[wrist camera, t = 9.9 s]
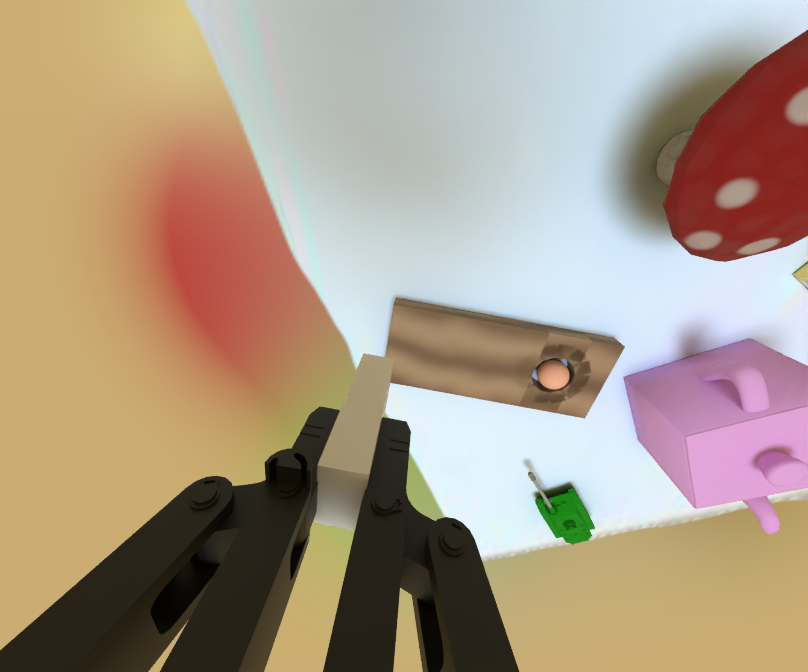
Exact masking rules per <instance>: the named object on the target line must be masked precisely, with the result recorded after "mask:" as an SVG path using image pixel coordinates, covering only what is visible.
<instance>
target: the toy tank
mask: <svg viewBox="0 0 808 672" xmlns="http://www.w3.org/2000/svg"><path fill="white" fill-rule="evenodd" d="M528 476H529V477H530V479H531V480H532V481H533V482H534V484H535V485H536V487H537V489H538V490H539V492H540V494H541V495H542V497H543V498H542V497H541V498H538V499H536V500H535V502H536V505H537V507H538V509H539V511H540V513H541V515H542V516H543V518H544V520H545V521H546V523H547V524H548V526H549V527H550V529H551V531H552V532H553V534H554V535H555V537H556V538H560V537H563V538H564V540H565V542H567V543H572V545H573V544H575V543H579V542H583V541H588V539H589V538H590V537H591V536H592V534H591V532H590V530H591V529H595V527H594V524H593V522H592V520H591V518H590V516H589V514H588V512H587V511H586V509H585V507H584V505H583V503H582V502H581V500H580V498H579V496H578V494H577V493H576V491H575V489H574V488H571V489H568V493H564V494H560V495H557V496H553V497H551V498H547V497H546V496H545V494H544V492H543V491H542V489H541V488H540V486H539V485H538V483H537V481H536V478H535V476H534V475H533V473H532V472H529V473H528Z"/></svg>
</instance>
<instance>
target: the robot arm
mask: <svg viewBox="0 0 808 672" xmlns="http://www.w3.org/2000/svg"><path fill="white" fill-rule="evenodd" d="M393 363H394V359H391V358H385V357H380V356H374V355H369V354H363V356H362V358H361V361H360V363H359V366H358V368H357V371H356V373H355V376H354V378H353V380H352V383H351V385H350V388H349V390H348V392H347V395H346V397H345V400H344V402H343V405H342V407H341V410H335V409H331V408H325V407H319V408H317V409H316V410H315V411H314V412H312V413H311V414H310V415H309V417H308V419H307V421H306V423H305V425H304V427H303V428H302V430H301V432H300V435H299V436H298V438H297V440H296V442H295V443H294V445H293V447H292V449H285V450H281V451H278V452H276V453H275V454H273V455H272V456H270V457H269V458H268V460H267V461H266V462H265V475H266V480H265V481H262V482H260V483H255V484H248V485H240V486H232V483H231V482H230V481H229V480H228V479H226V478H225V477H220V476H211V477H205V478H203V479H200V480H198V481H196V482H194V483H193V484H191V485H190V486H188V487H187V488H186V489H185V490H183V491H182V492H181V493H180V494H179V495H178V496H176V497H175V498H174V499H173V500H172V501H171V502H170V503H168V504H167V505H166V506H165V507H164V508H163V509H162V510H160V511H159V512H158V513H157V514H156V515H155V516H153V517H152V518H151V519H150V520H149V521H148V522H147V523H145V524H144V525H143V526H142V527H141V528H140V529H139V530H137V531H136V532H135V533H134V534H133V535H132V536H131V537H130V538H128V539H127V540H126V541H125V542H124V543H123V544H121V545H120V546H119V547H118V548H117V549H116V550H115V551H113V552H112V553H111V554H110V555H109V556H108V557H107V558H105V559H104V560H103V561H102V562H101V563H100V564H99V565H97V566H96V567H95V568H94V569H93V570H92V571H91V572H89V573H88V574H87V575H86V576H85V577H84V578H83V579H81V580H80V581H79V582H78V583H77V584H76V585H75V586H74V587H72V588H71V589H70V590H69V591H68V592H67V593H65V594H64V595H63V596H62V597H61V598H60V599H59V600H58V601H56V602H55V603H54V604H53V605H52V606H51V607H49V608H48V609H47V610H46V611H45V612H44V613H43V614H41V615H40V616H39V617H38V618H37V619H36V620H34V622H32V623H31V624H30V625H29V626H28V627H26V628H25V629H24V630H23V631H22V632H21V633H20V634H18V635H17V636H16V637H15V638H14V639H13V640H12V641H10V642H9V643H8V644H7V645H6V646H5V647H4V648H3V649H1V650H0V672H148V671H149V670H150V669H151V667H152V666H153V665H154V664H155V662H156V661H157V660H158V658H159V657H160V656H161V655H162V653H163V652H164V651H165V649H166V648H167V647H168V646H169V644H170V643H171V641H172V640H173V639H174V638H175V636H176V635H177V634H178V633H179V631H180V630H181V629H182V628H183V626H184V625H185V624H186V622H187V621H188V622H187V624H186V626H185V628H184V629H183V631H182V633H181V635H180V637H179V638H178V640H177V642H176V644H175V645H174V647H173V649H172V651H171V653H170V654H169V656H168V658H167V660H166V662H165V663H164V665H163V667H162V669H161V671H160V672H264V670H265V667H266V664H267V661H268V658H269V655H270V652H271V650H272V647H273V644H274V641H275V638H276V635H277V632H278V629H279V626H280V624H281V621H282V617H283V615H284V612H285V609H286V606H287V603H288V600H289V597H290V594H291V592H292V589H293V586H294V583H295V580H296V577H297V574H298V571H299V568H300V565H301V562H302V560H303V557H304V554H305V551H306V548H307V545H308V542H309V536H310V528H311V525H312V522H313V520H314V517H315V523H317V524H322V525H328V526H334V527H339V528H344V529H349V530H355V533H354V537H353V542H352V546H351V551H350V555H349V559H348V564H347V568H346V572H345V577H344V581H343V586H342V590H341V595H340V599H339V603H338V608H337V612H336V617H335V621H334V626H333V630H332V634H331V639H330V643H329V648H328V652H327V657H326V661H325V666H324V670H323V672H393V667H394V653H395V642H396V630H397V617H398V605H399V592H400V588H402V589H403V590H405V591H407V592H408V593H410V594H411V595H412V599H413V606H414V613H415V620H416V627H417V633H418V640H419V648H420V655H421V661H422V668H423V672H519V669H518V666H517V664H516V661H515V658H514V655H513V652H512V649H511V646H510V643H509V640H508V637H507V634H506V631H505V628H504V625H503V622H502V619H501V616H500V613H499V610H498V608H497V604H496V601H495V599H494V595H493V593H492V590H491V587H490V584H489V581H488V578H487V575H486V572H485V569H484V566H483V563H482V560H481V557H480V554H479V551H478V548H477V545H476V542H475V539H474V537H473V536H472V534H471V532H470V530H469V529H468V528H467V527H466V526H465V525H464V524H463V523H462V522H460V521H458V520H456V519H454V518H448V517H445V518H441V519H438V520H436V521H434V520H432V519H430V518H428V517H426V516H424V515H423V514H421V513H420V512H418V511H417V510H416V509H415V508H414V507H413V506H412V505H411V503H410V501H409V500H408V497H407V493H406V483H407V470H408V459H409V447H410V435H411V431H410V429H409V426H408V424H407V422H406V421H400V420H395V419H390V418H384V413H385V408H386V403H387V397H388V392H389V386H390V380H391V374H392V368H393Z"/></svg>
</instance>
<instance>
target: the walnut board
mask: <svg viewBox="0 0 808 672" xmlns="http://www.w3.org/2000/svg"><path fill="white" fill-rule="evenodd" d="M623 349H624V346H623V345H622V344H621V343H620V342H618V341H617V340H616V339H615V338H610V337H605V336H600V335H594V334H589V333H583V332H578V331H572V330H567V329H561V328H556V327H550V326H545V325H540V324H534V323H529V322H523V321H518V320H512V319H507V318H501V317H496V316H491V315H485V314H480V313H474V312H469V311H463V310H458V309H452V308H447V307H441V306H436V305H431V304H425V303H420V302H414V301H409V300H403V299H398V298H396V300H395V303H394V308H393V314H392V320H391V327H390V333H389V339H388V346H387V352H386V358H391V359H394V363H393V368H392V374H391V380H390V383H396V384H401V385H406V386H412V387H417V388H423V389H428V390H434V391H439V392H444V393H450V394H455V395H461V396H466V397H472V398H477V399H483V400H488V401H493V402H499V403H504V404H510V405H515V406H521V407H526V408H532V409H537V410H542V411H548V412H553V413H559V414H564V415H570V416H575V417H581V418H585V417H586V415H587V413H588V412H589V410H590V408H591V406H592V404H593V403H594V401H595V399H596V397H597V396H598V394H599V392H600V390H601V388H602V387H603V385H604V383H605V381H606V380H607V378H608V376H609V374H610V372H611V371H612V369H613V367H614V365H615V364H616V362H617V360H618V358H619V356H620V355H621V353H622V351H623ZM552 358H561V359H566V360H567V364H568V365H567V369H568V371H569V380H568V382H567V384H566V385H565V386H564V387H562V388H560V389H549V388H546V387H545V386H543V385H542V384H541V383H540V381H535V380H534V379H532V377H531V376H532V374H533V371H534V369H535V367H536V366H538V365H539V364H540V363H541V362H543V361H544V360H548V359H552Z"/></svg>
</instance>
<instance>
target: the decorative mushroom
mask: <svg viewBox="0 0 808 672" xmlns="http://www.w3.org/2000/svg"><path fill="white" fill-rule="evenodd" d="M656 171H657V175H658V178H659V179H660V180H661V181H662V182H663V183H664V184H666V185H669V186H668V190H667V193H666V197H665V200H664V204H663V206H664V209H665V213H666V216H667V219H668V223H669V226H670V229H671V233H672V236H673V237H674V238H675V239H676V240H677V241H678V242H679V243H680V244H681V245H682V246H683V247H684V248H685V249H686V250H687V251H688V252H689V253H690V254H691V255H695V256H699V257H703V258H707V259H711V260H715V261H724V262H726V261H731V260H736V259H740V258H744V257H748V256H752V255H756V254H760V253H764V252H768V251H772V250H776V249H779V248H783V247H786V246H789V245H791V244H793V243H795V242H797V241H799V240H801V239H803V238H805V237H807V236H808V30H807V31H805V32H804V33H802V34H801V35H799V36H798V37H796V38H795V39H793V40H792V41H790V42H789V43H787V44H786V45H784V46H783V47H781V48H780V49H778V50H776V51H775V52H773V53H772V54H770V55H769V56H767V57H766V58H764V59H763V60H761V61H760V62H758V63H757V64H755V65H754V66H753V67H752V68H750V69H749V70H748V71H747V72H746V73H745V74H744V75H743V76H742V77H741V78H740V79H739V80H738V81H737V82H736V83H735V84H734V85H733V86H732V87H731V88H730V89H729V90H728V91H727V92H726V93H725V94H724V95H723V96H721V97H720V98H719V99H718V100H717V101H716V102H715V103H714V104H713V105H712V106H711V107H710V108H709V109H708V110H707V111H706V112H705V113H704V114H703V115H702V116H701V118H700V120H699V122H698V123H697V125H696V127H695V129H693V130H689V131H684V132H681V133H680V134H678V135H677V136H675V137H673V138H672V139H671V140H670V141H669V142H668V143H667V144H666V145H665V146H664V147H663V149H662V151H661V153H660V155H659V157H658V159H657V166H656Z"/></svg>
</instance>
